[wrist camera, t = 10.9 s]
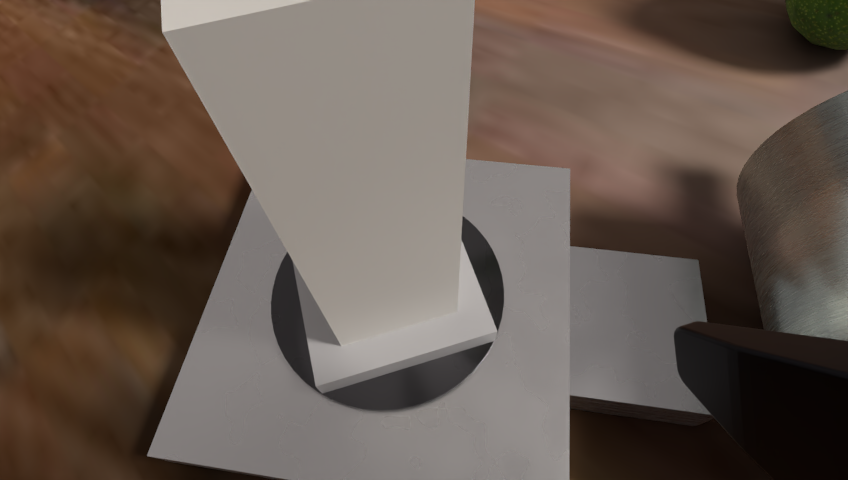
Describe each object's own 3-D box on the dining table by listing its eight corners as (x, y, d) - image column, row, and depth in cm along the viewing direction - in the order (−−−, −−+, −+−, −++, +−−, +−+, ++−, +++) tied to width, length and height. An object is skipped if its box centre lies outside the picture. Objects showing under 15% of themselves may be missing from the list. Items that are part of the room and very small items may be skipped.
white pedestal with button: (494, 340, 18) (610, -90, 5) (322, 393, 17) (-4, 37, 5) (441, 202, 21) (436, -272, 9) (293, 242, 20) (51, -214, 8)
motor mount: (1083, 614, 15) (1915, 727, 7) (174, 462, 18) (-64, 405, 10) (909, 194, 23) (1185, -5, 15) (293, 137, 26) (219, -53, 18)
